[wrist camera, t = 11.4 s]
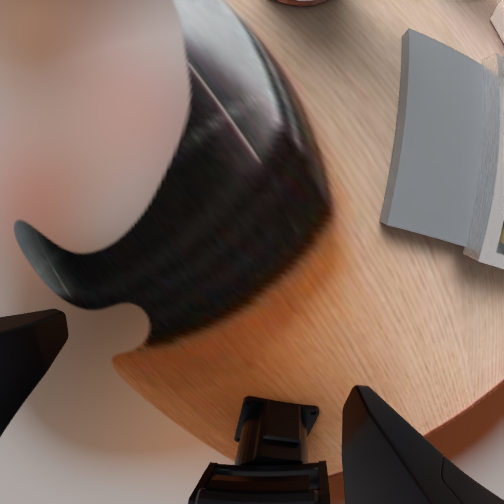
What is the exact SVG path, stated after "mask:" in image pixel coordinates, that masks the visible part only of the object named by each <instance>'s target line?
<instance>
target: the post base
mask: <svg viewBox="0 0 504 504" xmlns="http://www.w3.org/2000/svg"><path fill="white" fill-rule="evenodd" d="M483 129H484V80H483V65H481V64H479V63H478V62H476V61H475V60H473V59H471V58H469V57H468V56H466V55H464V54H462V53H460V52H459V51H457V50H455V49H453V48H451V47H449V46H447V45H445V44H443V43H441V42H439V41H437V40H435V39H433V38H430V37H428V36H426V35H424V34H421V33H419V32H417V31H414V30H412V29H408V30H407V31H406V33H405V34H404V35H403V36H402V61H401V81H400V94H399V106H398V115H397V124H396V132H395V140H394V147H393V153H392V160H391V166H390V172H389V177H388V183H387V188H386V193H385V198H384V203H383V208H382V212H381V217H380V222H382V223H384V224H386V225H389V226H393V227H397V228H400V229H404V230H408V231H412V232H415V233H419V234H423V235H426V236H430V237H433V238H437V239H440V240H444V241H447V242H451V243H454V244H457V245H461V246H464V247H465V244H466V240H467V236H468V232H469V227H470V223H471V219H472V214H473V209H474V204H475V199H476V193H477V187H478V180H479V173H480V165H481V156H482V145H483ZM497 252H500V253H503V254H504V221H503V226H502V230H501V235H500V239H499V243H498V247H497Z"/></svg>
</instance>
